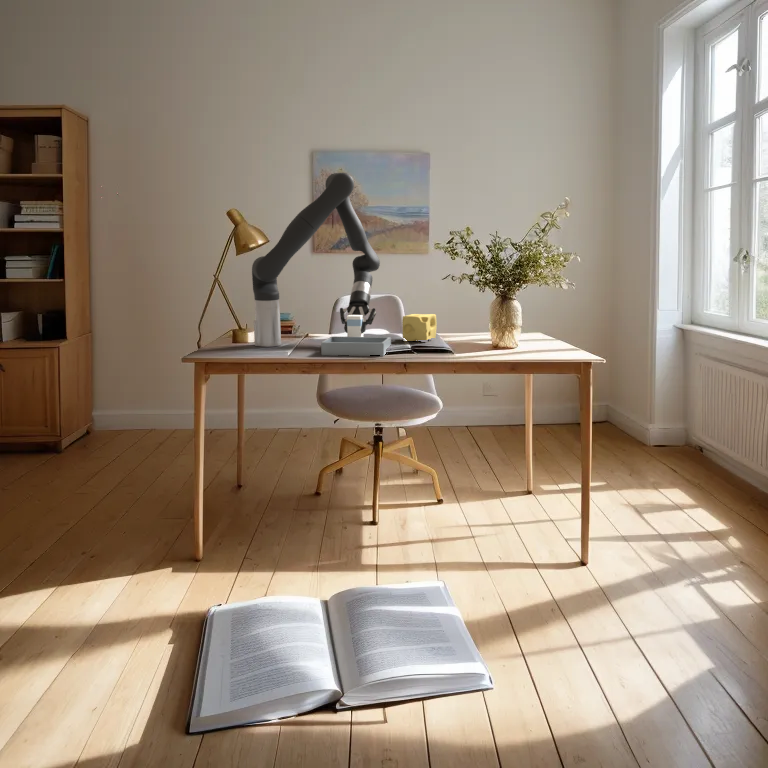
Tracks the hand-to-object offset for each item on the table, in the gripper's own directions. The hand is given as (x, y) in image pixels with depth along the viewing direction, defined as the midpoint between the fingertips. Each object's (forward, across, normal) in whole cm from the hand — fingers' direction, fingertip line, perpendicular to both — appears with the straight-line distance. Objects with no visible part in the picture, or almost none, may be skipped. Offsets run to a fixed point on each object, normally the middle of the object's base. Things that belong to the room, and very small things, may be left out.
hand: (354, 331), depth 301 cm
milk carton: (+2, 0, +5) cm, 6 cm away
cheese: (-10, +21, +19) cm, 30 cm away
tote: (+12, +3, -4) cm, 13 cm away
